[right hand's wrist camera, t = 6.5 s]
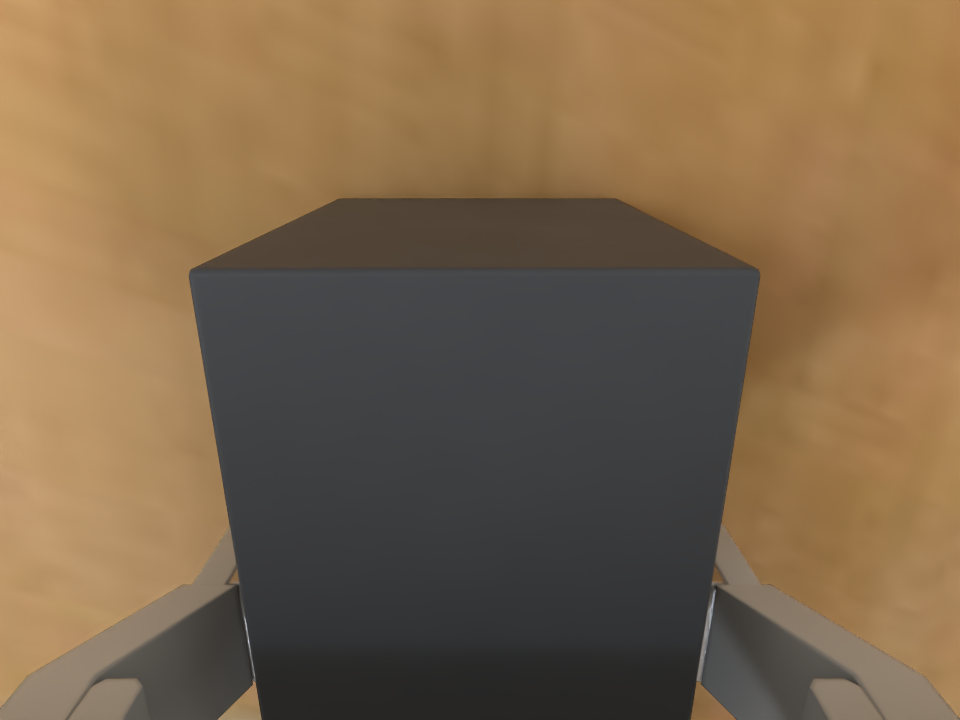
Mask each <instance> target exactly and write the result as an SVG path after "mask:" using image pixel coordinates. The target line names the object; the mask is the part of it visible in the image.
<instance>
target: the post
mask: <svg viewBox="0 0 960 720" xmlns="http://www.w3.org/2000/svg"><path fill="white" fill-rule="evenodd" d="M189 280H190V286H191V292H192V298H193V304H194V310H195V317H196V323H197V329H198V335H199V341H200V347H201V353H202V359H203V365H204V371H205V377H206V383H207V389H208V395H209V402H210V408H211V414H212V420H213V426H214V432H215V438H216V444H217V450H218V456H219V462H220V468H221V474H222V480H223V487H224V493H225V499H226V505H227V511H228V517H229V523H230V529H231V535H232V541H233V547H234V553H235V559H236V565H237V572H238V578H239V584H240V590H241V596H242V602H243V608H244V614H245V620H246V626H247V632H248V638H249V644H250V650H251V657H252V663H253V669H254V675H255V681H256V687H257V693H258V699H259V705H260V711H261V717H262V720H690V719H691V712H692V706H693V700H694V693H695V687H696V681H697V674H698V668H699V662H700V655H701V649H702V643H703V636H704V630H705V623H706V617H707V611H708V604H709V598H710V592H711V585H712V579H713V573H714V566H715V560H716V554H717V547H718V541H719V534H720V528H721V522H722V515H723V509H724V503H725V496H726V490H727V484H728V477H729V471H730V465H731V458H732V452H733V446H734V439H735V433H736V426H737V420H738V414H739V407H740V401H741V395H742V388H743V382H744V376H745V369H746V363H747V357H748V350H749V344H750V338H751V331H752V325H753V318H754V312H755V306H756V299H757V293H758V287H759V280H760V272H759V269H757V268H755V267H753V266H751V265H749V264H747V263H745V262H743V261H741V260H739V259H737V258H735V257H733V256H731V255H729V254H727V253H724V252H722V251H720V250H718V249H716V248H714V247H712V246H710V245H708V244H706V243H704V242H702V241H700V240H698V239H696V238H694V237H692V236H690V235H688V234H686V233H684V232H682V231H680V230H678V229H676V228H674V227H672V226H670V225H668V224H666V223H664V222H662V221H660V220H658V219H656V218H654V217H652V216H650V215H648V214H646V213H644V212H642V211H640V210H638V209H636V208H634V207H632V206H630V205H628V204H626V203H624V202H621V201H619V200H617V199H338V200H336V201H333V202H331V203H329V204H327V205H325V206H323V207H321V208H319V209H317V210H315V211H312V212H310V213H308V214H306V215H304V216H302V217H300V218H298V219H296V220H294V221H291V222H289V223H287V224H285V225H283V226H281V227H279V228H277V229H275V230H273V231H271V232H268V233H266V234H264V235H262V236H260V237H258V238H256V239H254V240H252V241H250V242H247V243H245V244H243V245H241V246H239V247H237V248H235V249H233V250H231V251H229V252H227V253H224V254H222V255H220V256H218V257H216V258H214V259H212V260H210V261H208V262H206V263H203V264H201V265H199V266H197V267H195V268H193V269H191V270H190V273H189Z"/></svg>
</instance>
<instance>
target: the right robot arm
mask: <svg viewBox="0 0 960 720" xmlns="http://www.w3.org/2000/svg"><path fill="white" fill-rule="evenodd" d="M252 681H255V675H254V669H253V663H252V657H251V650H250V644H249V638H248V632H247V626H246V620H245V614H244V608H243V602H242V596H241V590H240V584H239V578H238V572H237V565H236V559H235V553H234V547H233V541H232V535H231V529H230V526H229V528H228V529H227V531H226V532H225V534H224V535H223V537H222V539H221V540H220V542H219V543H218V545H217V546H216V548H215V549H214V551H213V553H212V554H211V556H210V557H209V559H208V560H207V562H206V563H205V565H204V567H203V568H202V570H201V571H200V573H199V574H198V576H197V577H196V579H195V581H194V582H193V584H192V585H181V586H180V587H178V588H176V589H175V590H173V591H171V592H169V593H168V594H166V595H164V596H163V597H161V598H159V599H157V600H156V601H154V602H152V603H151V604H149V605H147V606H146V607H144V608H142V609H140V610H139V611H137V612H135V613H134V614H132V615H130V616H129V617H127V618H125V619H123V620H122V621H120V622H118V623H117V624H115V625H113V626H111V627H110V628H108V629H106V630H105V631H103V632H101V633H100V634H98V635H96V636H94V637H93V638H91V639H89V640H88V641H86V642H84V643H83V644H81V645H79V646H77V647H76V648H74V649H72V650H71V651H69V652H67V653H66V654H64V655H62V656H60V657H59V658H57V659H55V660H54V661H52V662H50V663H48V664H47V665H45V666H43V667H42V668H40V669H38V670H37V671H35V672H33V673H31V674H30V675H28V676H27V677H26V678H25V680H24V681H23V682H22V683H21V684H20V685H19V687H18V688H17V689H16V690H15V691H14V693H13V694H12V695H11V696H10V697H9V699H8V700H7V701H6V702H5V703H4V705H3V706H2V707H1V708H0V720H217V719H218V718H219V717H220V716H221V715H222V714H223V713H224V712H225V711H226V710H227V709H228V708H229V707H230V706H231V705H232V704H233V703H235V702H236V701H237V700H238V699H239V698H240V697H241V696H242V695H243V694H244V693H245V692H246V691H247V690H248V689H249V688H250V687H251V686H252V685H253V682H252ZM697 681H701V685H702V686H703V687H704V688H705V689H706V690H707V691H709V692H710V693H711V694H712V695H713V696H714V697H715V698H716V699H717V700H718V701H719V702H720V703H721V704H722V705H723V706H724V707H725V708H726V709H727V710H728V711H729V712H730V713H731V714H732V715H733V716H734V717H735V718H736V719H737V720H960V718H959V717H958V716H957V715H956V713H955V712H954V711H953V710H952V709H951V707H950V706H949V705H948V704H947V702H946V701H945V700H944V699H943V698H942V696H941V695H940V694H939V693H938V691H937V690H936V689H935V688H934V687H933V685H932V684H931V683H930V682H929V680H928V679H927V678H926V677H925V676H923V675H922V674H920V673H918V672H917V671H915V670H913V669H912V668H910V667H908V666H907V665H905V664H903V663H902V662H900V661H898V660H897V659H895V658H893V657H891V656H890V655H888V654H886V653H885V652H883V651H881V650H880V649H878V648H876V647H875V646H873V645H871V644H870V643H868V642H866V641H865V640H863V639H861V638H860V637H858V636H856V635H855V634H853V633H851V632H849V631H848V630H846V629H844V628H843V627H841V626H839V625H838V624H836V623H834V622H833V621H831V620H829V619H828V618H826V617H824V616H823V615H821V614H819V613H818V612H816V611H814V610H812V609H811V608H809V607H807V606H806V605H804V604H802V603H801V602H799V601H797V600H796V599H794V598H792V597H791V596H789V595H787V594H786V593H784V592H782V591H781V590H779V589H777V588H776V587H774V586H772V585H762V584H761V583H760V581H759V580H758V578H757V577H756V575H755V573H754V572H753V570H752V569H751V567H750V566H749V564H748V562H747V561H746V559H745V558H744V556H743V555H742V553H741V551H740V550H739V548H738V547H737V545H736V544H735V542H734V540H733V539H732V537H731V536H730V534H729V533H728V531H727V529H726V528H725V526H724V525H723V524H722V523H721V528H720V534H719V541H718V547H717V554H716V560H715V566H714V573H713V579H712V585H711V592H710V598H709V604H708V611H707V617H706V623H705V630H704V636H703V643H702V649H701V655H700V662H699V668H698V674H697Z"/></svg>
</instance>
